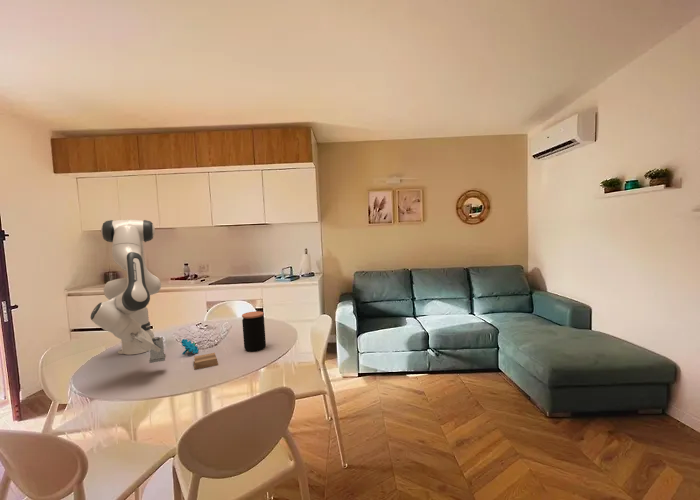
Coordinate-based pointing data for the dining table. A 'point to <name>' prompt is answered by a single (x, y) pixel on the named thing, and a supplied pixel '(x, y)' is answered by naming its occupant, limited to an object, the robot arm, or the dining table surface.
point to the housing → (157, 355)
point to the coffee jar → (253, 331)
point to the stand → (205, 361)
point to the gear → (189, 346)
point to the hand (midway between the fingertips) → (158, 348)
